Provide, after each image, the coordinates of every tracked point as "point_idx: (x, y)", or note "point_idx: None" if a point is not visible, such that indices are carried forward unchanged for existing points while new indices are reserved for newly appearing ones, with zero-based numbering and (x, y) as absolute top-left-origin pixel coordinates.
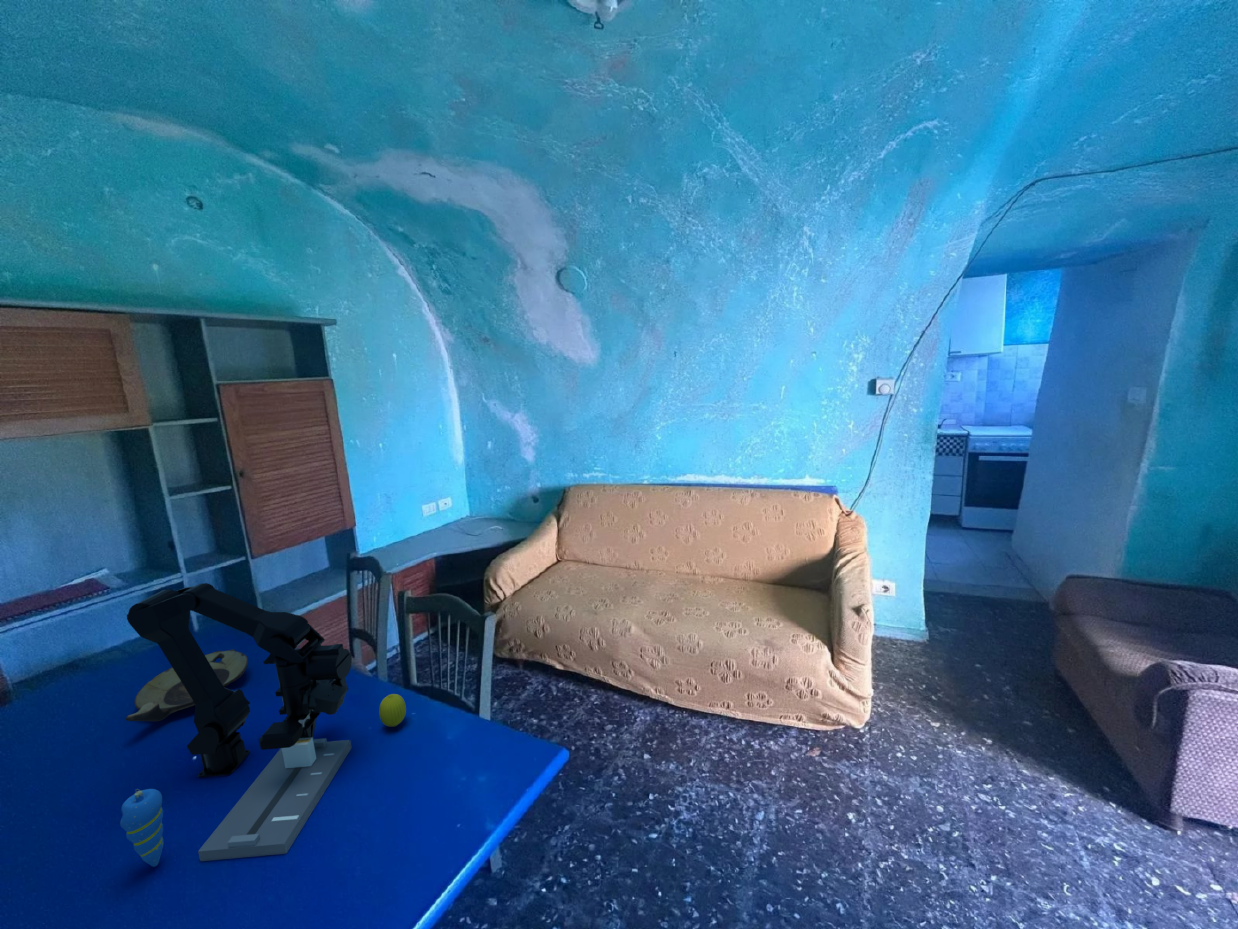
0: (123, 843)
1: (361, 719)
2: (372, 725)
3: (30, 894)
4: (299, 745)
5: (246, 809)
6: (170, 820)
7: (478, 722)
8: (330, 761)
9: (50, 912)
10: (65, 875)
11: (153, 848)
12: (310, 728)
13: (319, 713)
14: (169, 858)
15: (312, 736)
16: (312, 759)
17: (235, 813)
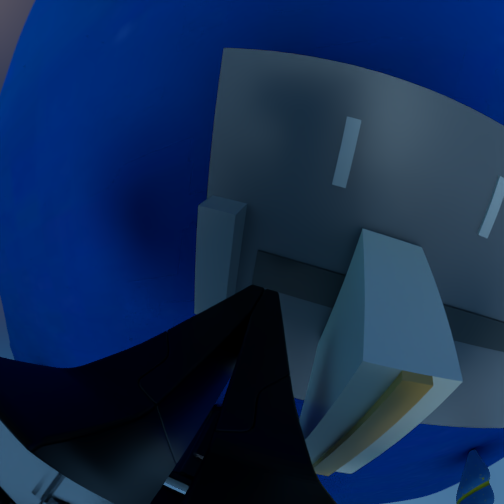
0: (381, 481)
1: (76, 101)
2: (113, 31)
3: (404, 497)
4: (419, 421)
5: (495, 401)
6: (368, 464)
7: None
8: (422, 131)
9: (451, 484)
10: (398, 492)
11: (489, 484)
12: (229, 407)
13: (37, 448)
14: (472, 443)
15: (230, 313)
16: (405, 254)
17: (485, 416)
